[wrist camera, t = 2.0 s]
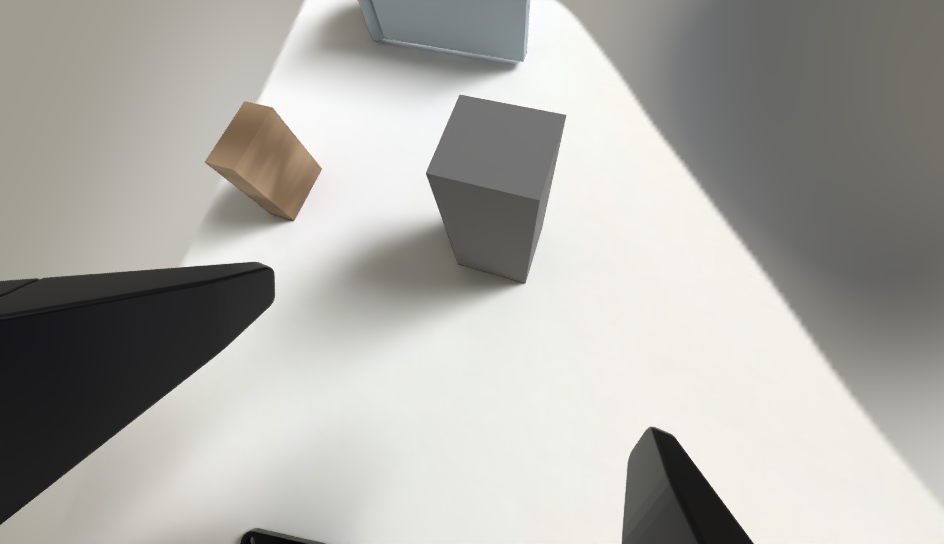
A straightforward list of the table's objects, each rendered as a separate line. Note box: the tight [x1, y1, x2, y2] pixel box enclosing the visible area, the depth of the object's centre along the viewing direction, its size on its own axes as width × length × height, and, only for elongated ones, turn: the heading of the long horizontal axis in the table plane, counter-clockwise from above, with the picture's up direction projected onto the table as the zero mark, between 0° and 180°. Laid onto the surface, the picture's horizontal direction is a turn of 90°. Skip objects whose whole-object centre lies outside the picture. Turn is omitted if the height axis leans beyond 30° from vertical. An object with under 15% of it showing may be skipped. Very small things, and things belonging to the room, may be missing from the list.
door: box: [358, 0, 530, 61], centre depth 27 cm, size 14×3×6 cm, turn 72°
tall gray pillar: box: [426, 95, 566, 283], centre depth 19 cm, size 4×4×10 cm
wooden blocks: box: [205, 102, 322, 220], centre depth 26 cm, size 23×2×6 cm, turn 161°
